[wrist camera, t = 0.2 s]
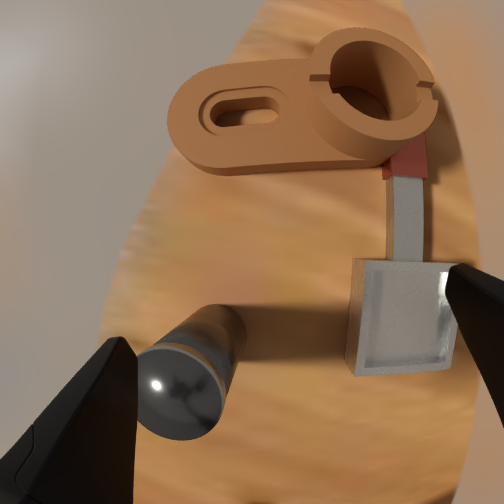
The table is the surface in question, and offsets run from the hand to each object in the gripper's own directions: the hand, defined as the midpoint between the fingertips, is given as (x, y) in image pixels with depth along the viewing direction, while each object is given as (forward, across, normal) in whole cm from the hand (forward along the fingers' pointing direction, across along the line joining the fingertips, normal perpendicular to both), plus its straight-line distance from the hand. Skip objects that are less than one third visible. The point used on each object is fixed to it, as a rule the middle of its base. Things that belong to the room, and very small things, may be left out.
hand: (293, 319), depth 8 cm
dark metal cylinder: (+11, +5, +11) cm, 16 cm away
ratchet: (+12, -10, +7) cm, 17 cm away
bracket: (+19, -4, -2) cm, 19 cm away
